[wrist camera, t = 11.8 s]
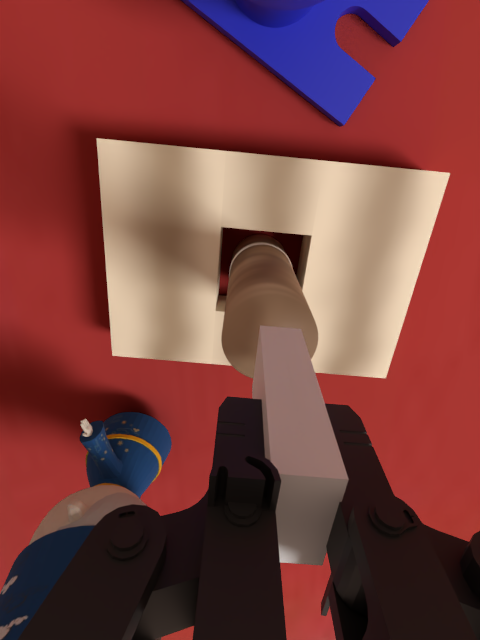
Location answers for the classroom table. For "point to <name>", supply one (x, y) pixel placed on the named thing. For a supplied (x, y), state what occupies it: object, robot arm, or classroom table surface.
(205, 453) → the classroom table surface
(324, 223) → the board
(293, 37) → the mount
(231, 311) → the peg
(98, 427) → the blue tall vessel
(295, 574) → the classroom table surface
